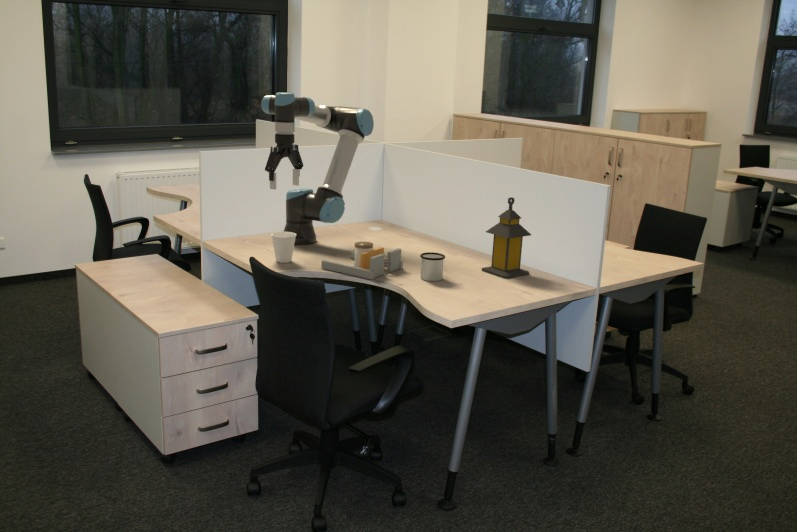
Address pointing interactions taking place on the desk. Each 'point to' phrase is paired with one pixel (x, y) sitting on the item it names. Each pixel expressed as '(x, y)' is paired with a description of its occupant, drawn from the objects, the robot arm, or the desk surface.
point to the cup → (283, 246)
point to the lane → (375, 265)
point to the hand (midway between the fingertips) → (284, 187)
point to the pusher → (366, 256)
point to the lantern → (507, 245)
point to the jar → (361, 251)
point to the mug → (432, 266)
